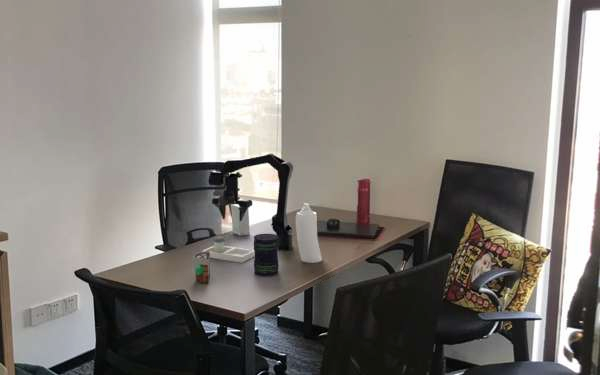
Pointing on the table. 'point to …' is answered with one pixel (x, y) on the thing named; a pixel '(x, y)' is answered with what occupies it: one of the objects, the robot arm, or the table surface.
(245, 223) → the skincare box
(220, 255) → the sorting tray
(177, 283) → the table surface
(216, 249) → the grey mushroom
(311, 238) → the white plastic bottle
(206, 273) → the food container
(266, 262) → the storage jar
